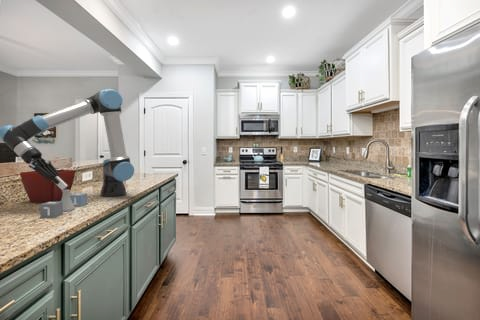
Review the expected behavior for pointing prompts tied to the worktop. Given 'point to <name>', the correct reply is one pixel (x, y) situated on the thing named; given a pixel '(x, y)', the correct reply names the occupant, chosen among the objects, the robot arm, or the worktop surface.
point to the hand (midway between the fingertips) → (64, 187)
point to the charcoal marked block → (51, 209)
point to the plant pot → (45, 185)
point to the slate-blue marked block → (79, 199)
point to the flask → (67, 201)
